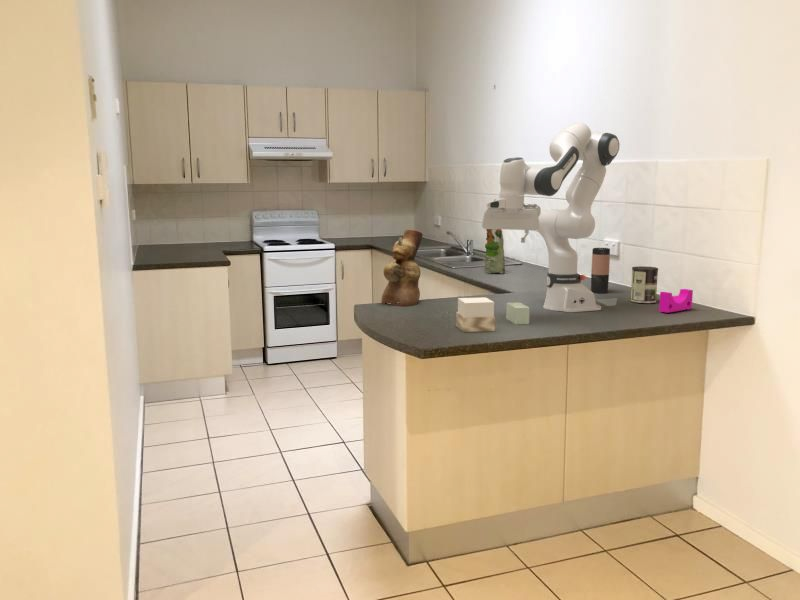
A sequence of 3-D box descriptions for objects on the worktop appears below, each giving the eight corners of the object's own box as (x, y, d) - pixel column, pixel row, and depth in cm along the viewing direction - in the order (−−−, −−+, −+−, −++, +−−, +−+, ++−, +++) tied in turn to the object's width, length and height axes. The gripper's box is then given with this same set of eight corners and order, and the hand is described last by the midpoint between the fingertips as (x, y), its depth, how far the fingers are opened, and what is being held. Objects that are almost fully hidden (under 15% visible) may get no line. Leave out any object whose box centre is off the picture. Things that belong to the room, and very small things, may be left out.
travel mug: (611, 293, 311) (614, 248, 308) (597, 294, 308) (599, 249, 305) (600, 291, 318) (602, 247, 315) (586, 292, 315) (588, 248, 312)
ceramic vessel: (373, 304, 285) (373, 231, 280) (403, 297, 302) (403, 228, 297) (405, 308, 276) (405, 232, 271) (435, 300, 294) (435, 229, 289)
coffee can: (656, 299, 295) (658, 266, 293) (656, 303, 286) (658, 269, 283) (630, 298, 299) (632, 265, 296) (630, 302, 289) (631, 268, 287)
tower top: (485, 311, 245) (486, 297, 244) (493, 316, 235) (494, 302, 234) (457, 312, 243) (458, 298, 242) (464, 317, 233) (465, 303, 233)
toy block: (677, 306, 281) (679, 287, 280) (691, 308, 276) (692, 289, 275) (653, 310, 273) (654, 291, 272) (667, 312, 268) (668, 293, 267)
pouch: (502, 275, 371) (504, 228, 367) (480, 274, 375) (481, 227, 371) (506, 272, 382) (507, 226, 378) (485, 271, 386) (486, 226, 381)
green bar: (519, 318, 257) (519, 302, 256) (529, 324, 246) (529, 307, 245) (506, 318, 256) (506, 302, 255) (515, 324, 246) (515, 308, 245)
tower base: (486, 325, 246) (486, 311, 245) (495, 331, 235) (495, 317, 235) (455, 326, 245) (455, 312, 244) (463, 332, 234) (463, 318, 233)
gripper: (540, 204, 252) (538, 242, 254) (483, 202, 255) (482, 240, 257) (541, 204, 246) (539, 243, 248) (482, 203, 249) (481, 242, 251)
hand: (509, 242), depth 252 cm, fingers open, 8 cm apart
